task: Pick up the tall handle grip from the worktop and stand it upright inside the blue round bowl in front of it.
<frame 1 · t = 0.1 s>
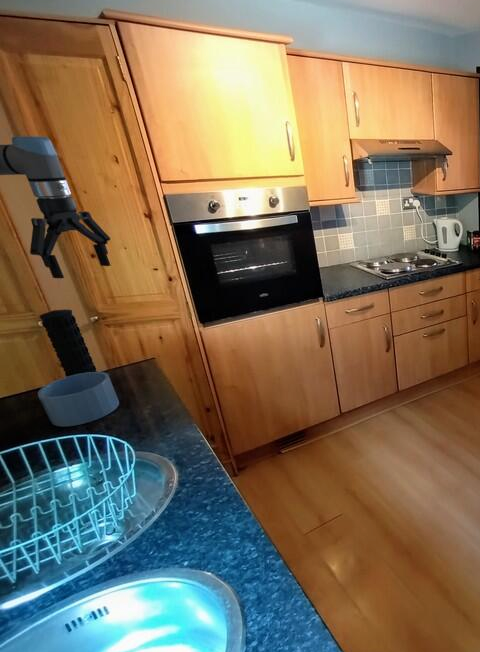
hand: (83, 271, 133), 35 cm above the worktop, tool pointing down, fingers open, 13 cm apart
handle grip: (89, 391, 139), on the worktop
blue round bowl: (86, 411, 128), on the worktop
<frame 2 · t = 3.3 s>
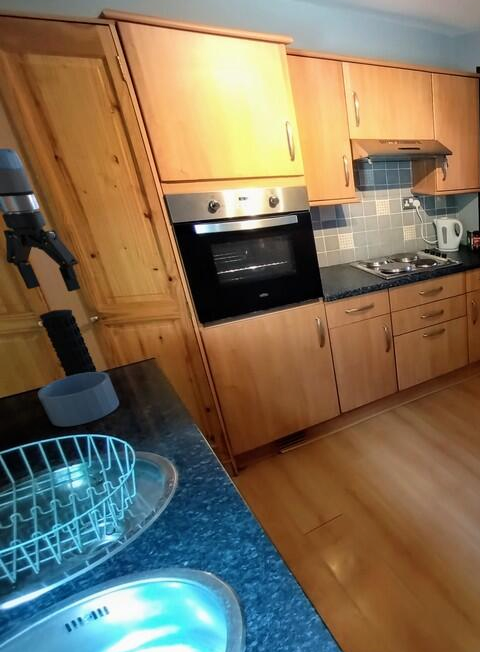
hand: (54, 288, 127), 32 cm above the worktop, tool pointing down, fingers open, 13 cm apart
nothing on the worktop moved.
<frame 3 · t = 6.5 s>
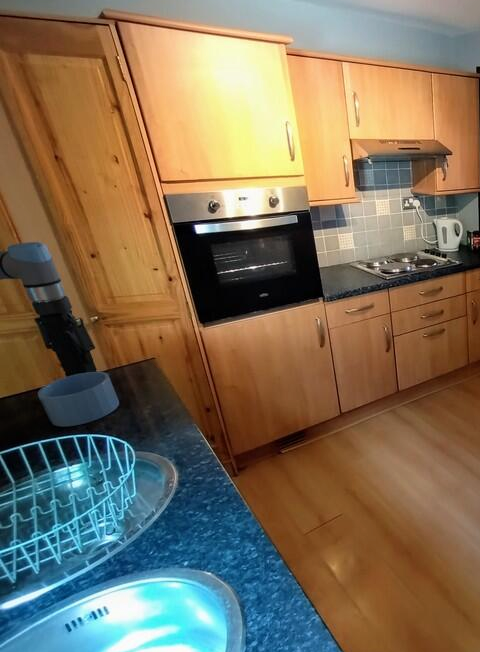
hand: (80, 370, 136), 7 cm above the worktop, tool pointing down, fingers closed on handle grip, 7 cm apart
handle grip: (89, 391, 139), on the worktop, touching gripper
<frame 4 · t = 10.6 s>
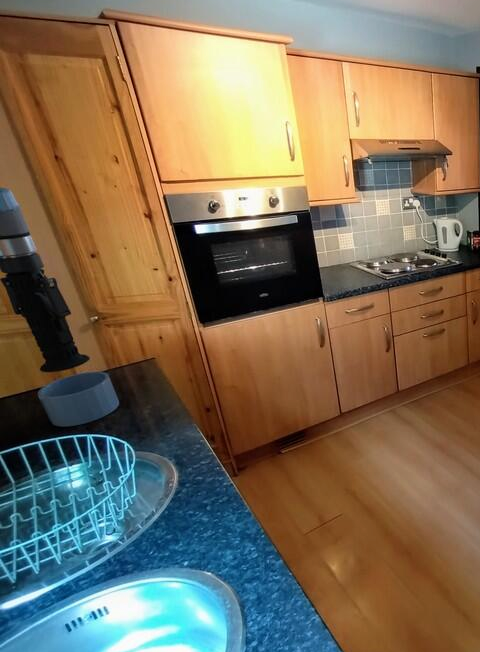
hand: (55, 340, 119), 22 cm above the worktop, tool pointing down, fingers closed on handle grip, 7 cm apart
handle grip: (65, 364, 122), point 15 cm above the worktop, touching gripper
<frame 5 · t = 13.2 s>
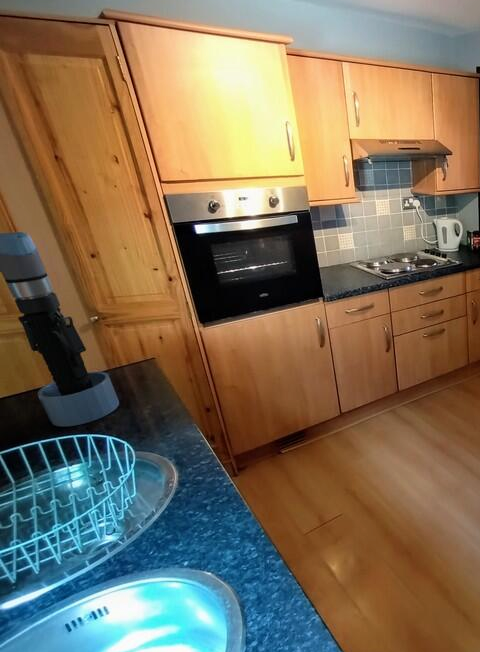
hand: (70, 374, 123), 12 cm above the worktop, tool pointing down, fingers closed on handle grip, 7 cm apart
handle grip: (80, 397, 126), point 5 cm above the worktop, touching gripper
when the fingers open (9 cm above the worktop, at t = 15.5 s): handle grip stays where it is, resting on blue round bowl.
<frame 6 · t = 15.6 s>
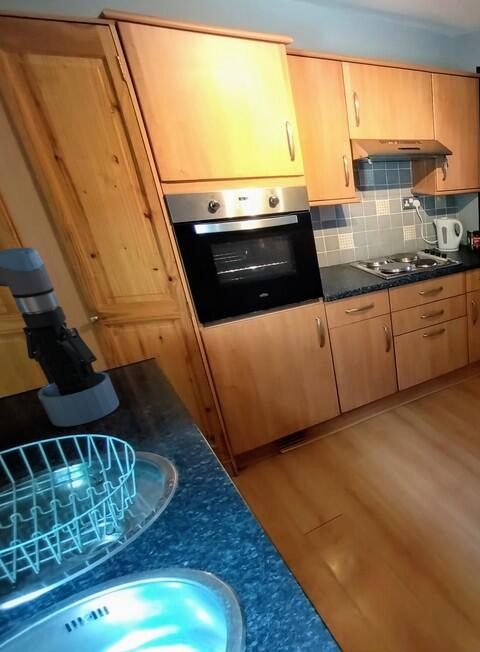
hand: (73, 383, 124), 9 cm above the worktop, tool pointing down, fingers open, 11 cm apart
handle grip: (85, 409, 128), point 1 cm above the worktop, touching blue round bowl
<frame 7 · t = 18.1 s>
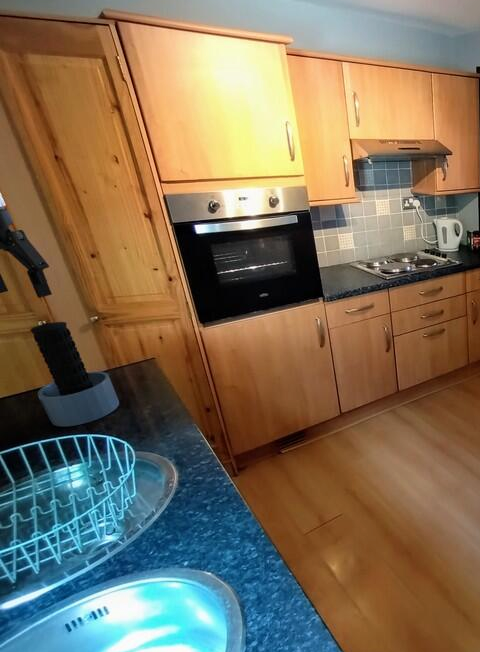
hand: (22, 294, 115), 35 cm above the worktop, tool pointing down, fingers open, 13 cm apart
nothing on the worktop moved.
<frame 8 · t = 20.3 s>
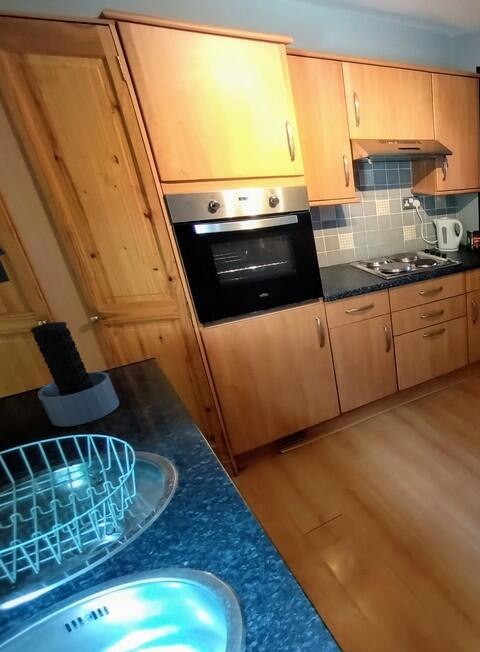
nothing on the worktop moved.
at the end: handle grip 0.0 cm off-centre in the blue round bowl, point 0.6 cm above the blue round bowl's base; handle grip tilted 0°; the gripper is holding nothing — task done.
